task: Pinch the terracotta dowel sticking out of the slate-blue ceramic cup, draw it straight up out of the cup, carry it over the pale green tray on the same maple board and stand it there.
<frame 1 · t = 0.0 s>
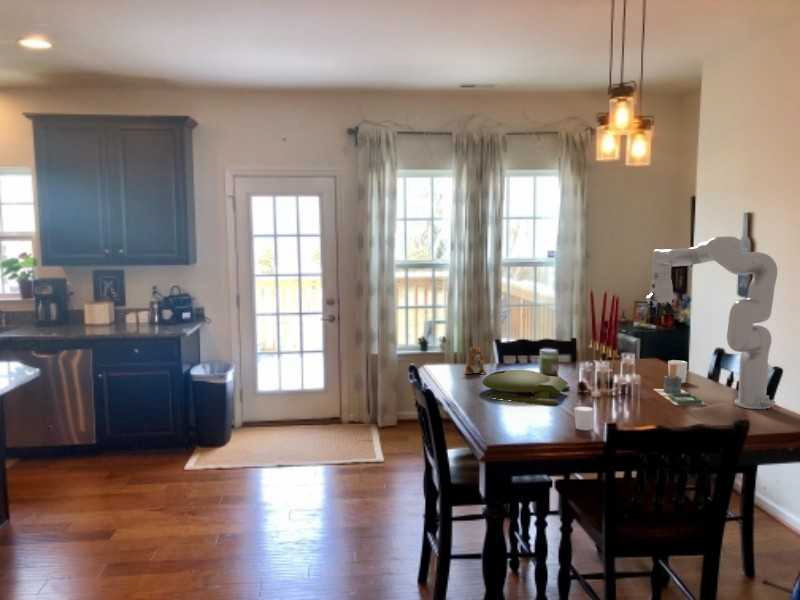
hand: (660, 314, 286), 31 cm above the table, tool pointing down, fingers open, 9 cm apart
spaceship: (523, 395, 274), on the table
stuffed squirrel: (475, 373, 317), on the table
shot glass: (583, 428, 224), on the table
dowel: (672, 392, 268), point 1 cm above the table, touching stand
stand: (678, 398, 261), on the table
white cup: (677, 384, 288), on the table
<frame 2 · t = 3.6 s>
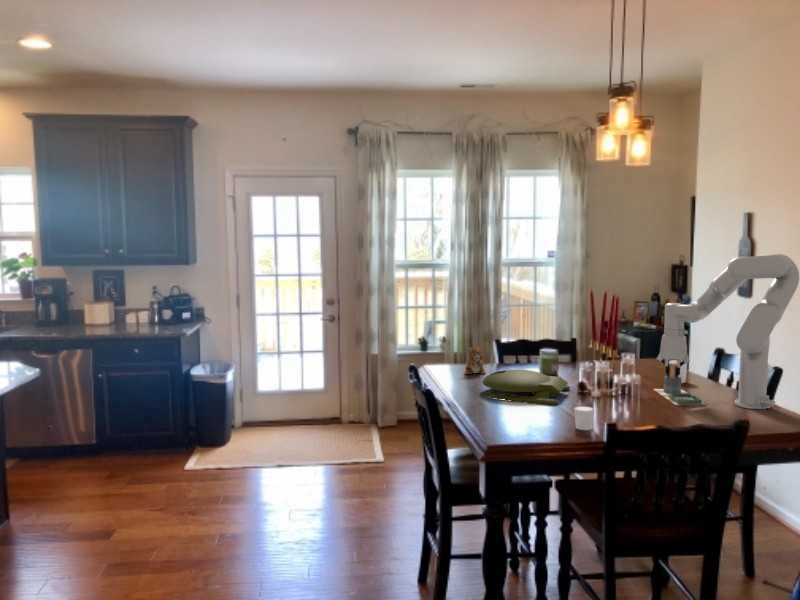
hand: (672, 375, 267), 8 cm above the table, tool pointing down, fingers closed on dowel, 2 cm apart
dowel: (672, 392, 268), point 1 cm above the table, touching gripper
everything else where it was.
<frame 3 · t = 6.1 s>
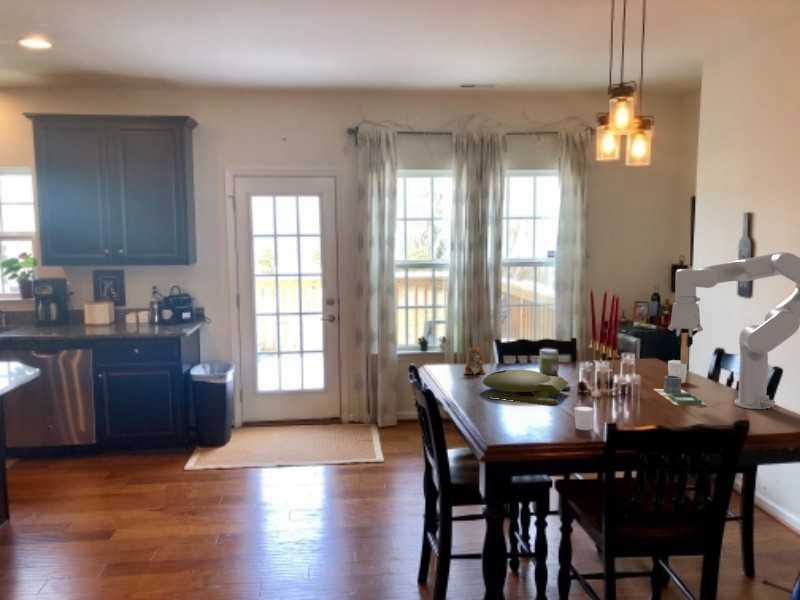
hand: (684, 345, 254), 23 cm above the table, tool pointing down, fingers closed on dowel, 2 cm apart
dowel: (684, 363, 255), point 16 cm above the table, touching gripper
everything else where it was.
when the fingers open (9 cm above the table, at t = 9.1 s): dowel stays where it is, resting on stand.
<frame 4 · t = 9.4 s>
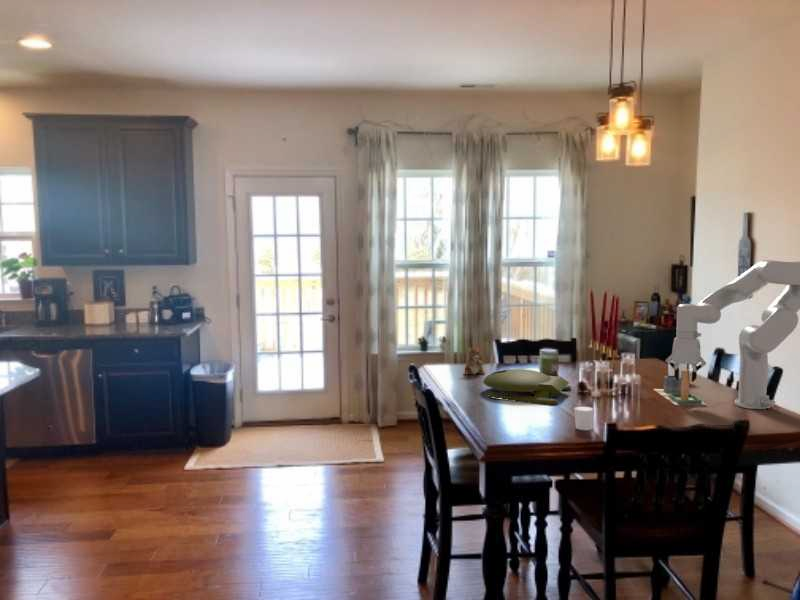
hand: (685, 379, 254), 9 cm above the table, tool pointing down, fingers open, 5 cm apart
dowel: (684, 400, 254), point 1 cm above the table, touching stand
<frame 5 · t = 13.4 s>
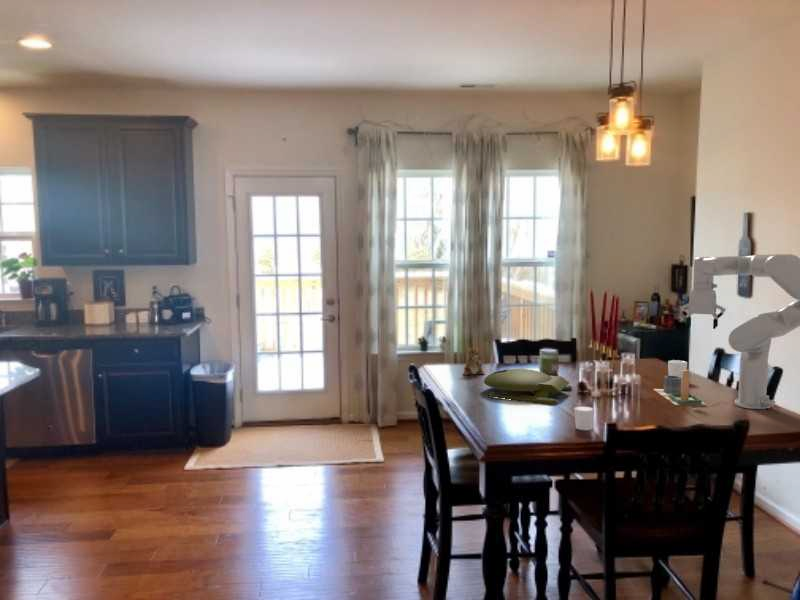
hand: (701, 327, 265), 28 cm above the table, tool pointing down, fingers open, 9 cm apart
at the end: dowel inside the target area on the stand (0.1 cm from its centre), point 1.2 cm above the stand's base; dowel tilted 0°; the gripper is holding nothing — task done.
